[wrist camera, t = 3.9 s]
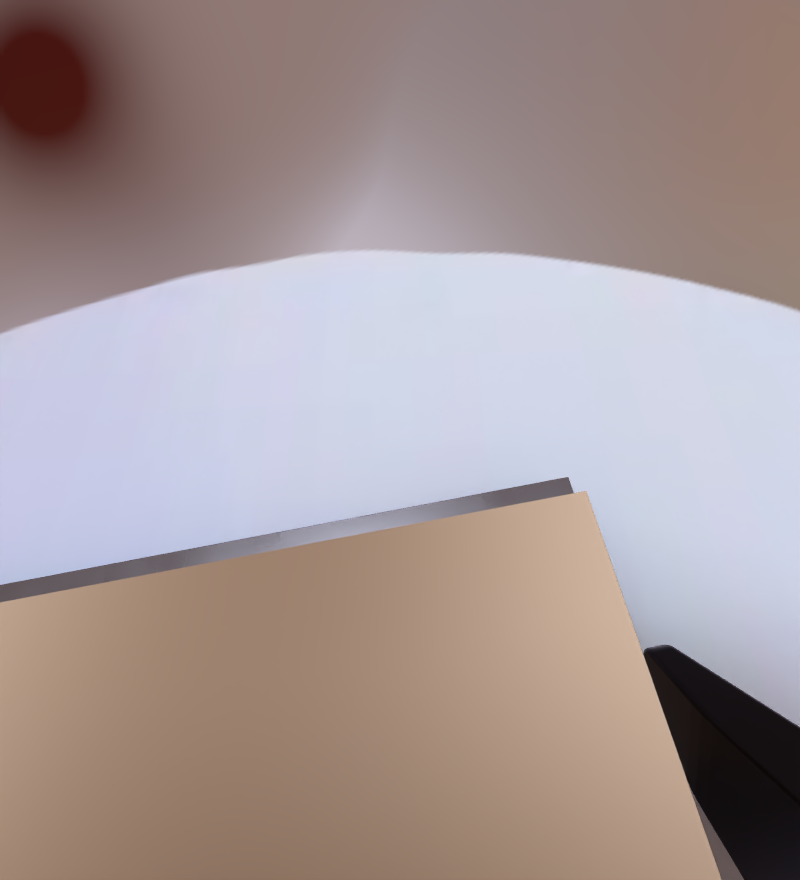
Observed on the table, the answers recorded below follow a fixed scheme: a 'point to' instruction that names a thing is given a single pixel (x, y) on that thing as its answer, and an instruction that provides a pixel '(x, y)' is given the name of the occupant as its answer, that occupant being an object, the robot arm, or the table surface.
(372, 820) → the birch peg
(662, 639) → the table surface
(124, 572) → the strike plate
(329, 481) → the table surface
